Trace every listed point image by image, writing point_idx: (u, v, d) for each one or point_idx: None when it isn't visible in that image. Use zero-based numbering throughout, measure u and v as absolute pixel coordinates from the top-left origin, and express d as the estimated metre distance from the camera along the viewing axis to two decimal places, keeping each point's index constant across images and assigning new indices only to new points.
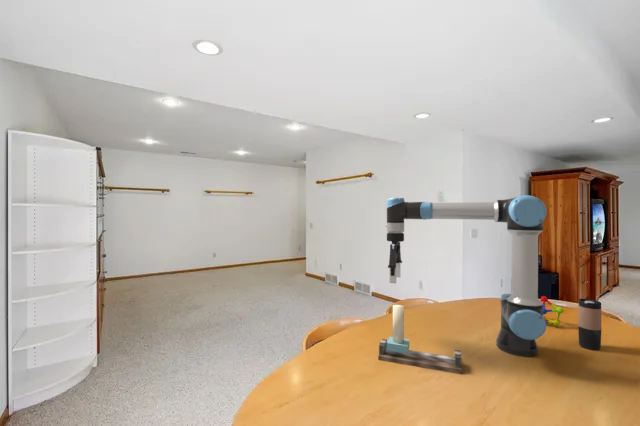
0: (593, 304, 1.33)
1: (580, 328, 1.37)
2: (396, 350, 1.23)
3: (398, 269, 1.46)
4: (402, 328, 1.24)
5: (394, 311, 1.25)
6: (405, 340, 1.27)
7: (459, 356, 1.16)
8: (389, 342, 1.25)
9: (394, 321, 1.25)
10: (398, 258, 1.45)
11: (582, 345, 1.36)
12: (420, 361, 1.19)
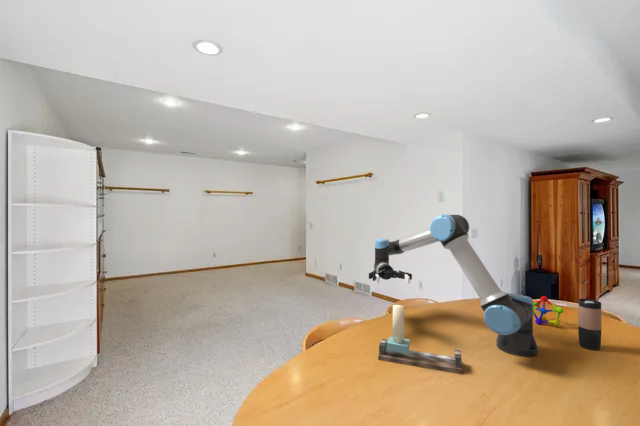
0: (593, 304, 1.33)
1: (580, 328, 1.37)
2: (396, 350, 1.23)
3: (406, 277, 1.44)
4: (402, 328, 1.24)
5: (394, 311, 1.25)
6: (405, 340, 1.27)
7: (459, 356, 1.16)
8: (389, 342, 1.25)
9: (394, 321, 1.25)
10: (401, 274, 1.49)
11: (582, 345, 1.36)
12: (420, 361, 1.19)
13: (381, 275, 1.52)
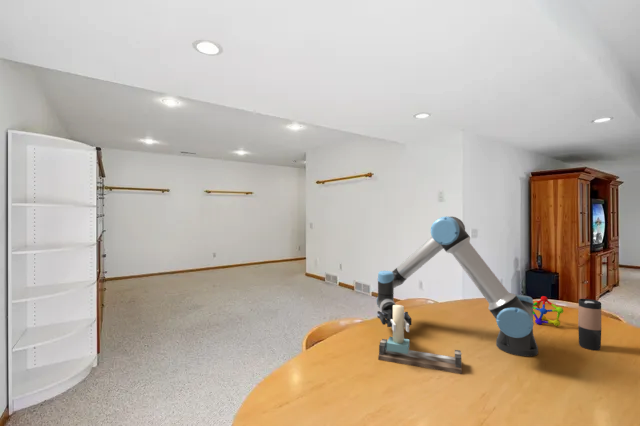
0: (593, 304, 1.33)
1: (580, 328, 1.37)
2: (396, 350, 1.23)
3: (404, 323, 1.24)
4: (402, 328, 1.24)
5: (394, 311, 1.25)
6: (405, 340, 1.27)
7: (459, 356, 1.16)
8: (389, 342, 1.25)
9: (394, 321, 1.25)
10: None
11: (582, 345, 1.36)
12: (420, 361, 1.19)
13: (390, 318, 1.33)
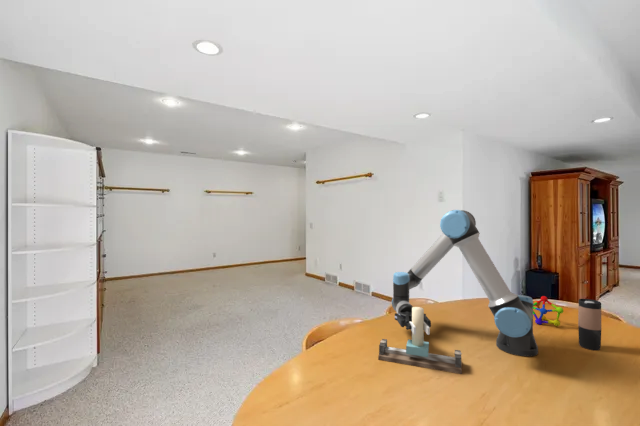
0: (593, 304, 1.33)
1: (580, 328, 1.37)
2: (416, 353, 1.20)
3: (424, 326, 1.22)
4: (422, 331, 1.22)
5: (414, 314, 1.22)
6: (424, 343, 1.24)
7: (459, 356, 1.16)
8: (408, 345, 1.22)
9: (414, 323, 1.22)
10: None
11: (582, 345, 1.36)
12: (420, 361, 1.19)
13: (408, 320, 1.31)
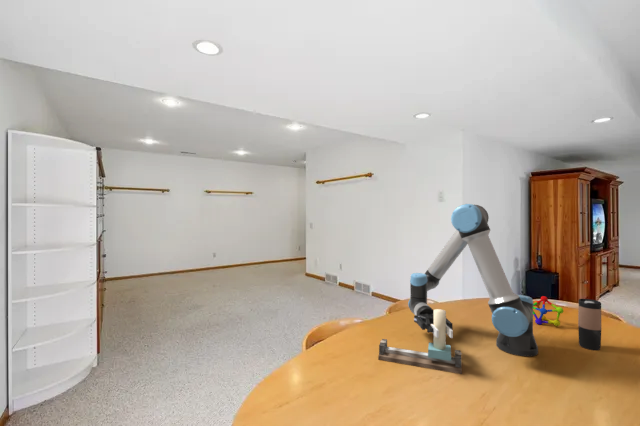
0: (593, 304, 1.33)
1: (580, 328, 1.37)
2: (438, 357, 1.17)
3: (446, 329, 1.19)
4: (444, 334, 1.19)
5: (436, 316, 1.19)
6: (446, 346, 1.21)
7: (459, 356, 1.16)
8: (430, 348, 1.19)
9: (436, 326, 1.19)
10: None
11: (582, 345, 1.36)
12: (420, 361, 1.19)
13: None
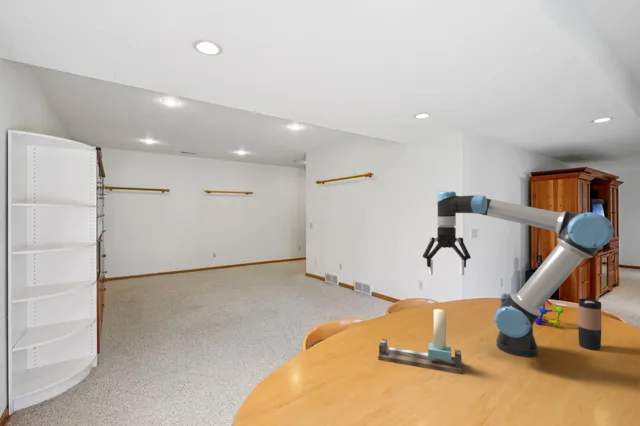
0: (593, 304, 1.33)
1: (580, 328, 1.37)
2: (438, 357, 1.17)
3: (461, 266, 1.38)
4: (444, 334, 1.19)
5: (436, 316, 1.19)
6: (446, 346, 1.21)
7: (459, 356, 1.16)
8: (430, 348, 1.19)
9: (436, 326, 1.19)
10: (459, 254, 1.38)
11: (582, 345, 1.36)
12: (420, 361, 1.19)
13: None
